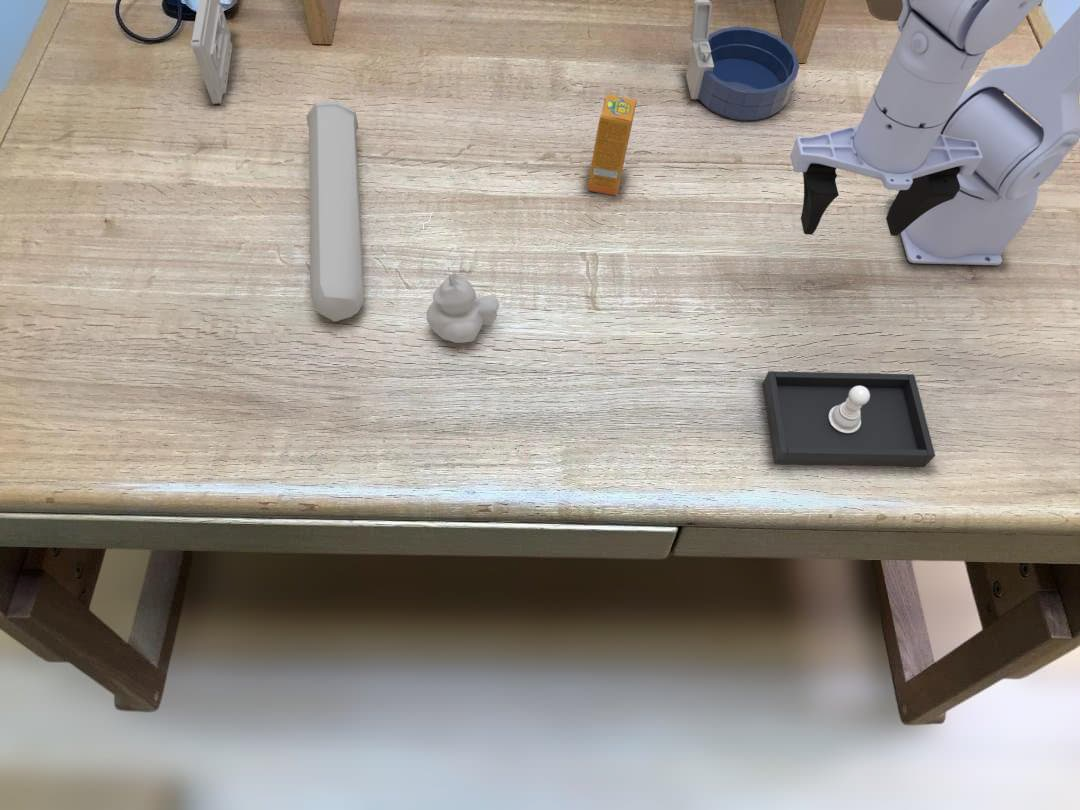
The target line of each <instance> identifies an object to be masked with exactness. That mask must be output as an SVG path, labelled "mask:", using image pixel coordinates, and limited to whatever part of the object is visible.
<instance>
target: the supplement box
mask: <svg viewBox="0 0 1080 810" xmlns="http://www.w3.org/2000/svg"><path fill="white" fill-rule="evenodd" d="M637 103H638V101H637V100H635V99H632V98H628V97H624V96H619V95H615V94H608V93H607V94H605V98H604V101H603V107H602V111H601V113H600V116H599V119H598V124H597V131H596V136H595V141H594V147H593V153H592V160H591V165H590V172H589V178H588V184H587V185H588V186H587V189H588V191H589V192H594V193H600V194H604V195H605V194H606V195H611V196H617V195H618V193H619V190H620V185H621V182H622V174H623V171H624V165H625V159H626V156H627V155H626V154H627V149H628V145H629V140H630V135H631V131H632V126H633V121H634V117H635V112H636V107H637Z"/></svg>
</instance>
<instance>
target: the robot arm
mask: <svg viewBox="0 0 1080 810" xmlns="http://www.w3.org/2000/svg"><path fill="white" fill-rule="evenodd" d="M1043 1H1044V0H901V2H902V9H901V12H900V15H899V17H898V19H897V22H896V25H897V29H898V32H899V33H900V34H899V37H898V38H897V41H896V43H895V46H894V47H893V50H892V52H891V54H890V57H889V58H888V61H887V63H886V65H885V66H884V70H883V71H882V74H881V76H880V78H879V80H878V82H877V85H876V87H875V90H874V91H873V94H872V96H871V98H870V100H869V102H868V105H867V107H866V109H865V111H864V114H863V116H862V118H861V120H860V122H859V124H856V125H851V126H848V127H844V128H840V129H836V130H833V131H829V132H826V133H821V134H817V135H816V134H815V135H811V136H797V137H796V139H795V141H794V143H793V146H792V150H791V152H790V159H791V161H790V162H791V165H792V169H793V172H794V173H802V178H803V202H802V210H801V215H800V221H801V225H802V230H803V234H804V235H811V236H812V235H813V234H814V233H815V232H816V230H817V229H818V227H819V224H820V223H821V219H822V217H823V215H824V214H825V212H826V210H827V209H828V207H829V206H830V205H831V204H832V202H833V201H834V200H835V199H837V198H838V197H839V196H840V194H839V191H838V187H837V183H836V179H837V177H838V174H837V171H836V170H837V169H838V170H841V171H846V172H849V173H853V174H857V175H860V176H864V177H868V178H872V179H876V180H880V181H881V182H882V186H883V187H884V188H885V189H887V190H890V191H898V192H897V194H896V196H895V197H894V199H893V201H892V203H891V205H890V207H889V208H888V212H887V215H886V217H885V219H886V224H887V226H888V230H889V235H890V236H891V237H897V236H899V235H900V236H901V240H902V244H903V248H904V251H905V255H906V259H907V261H908V262H909V263H911V264H927V265H928V264H932V265H933V264H934V265H937V264H938V265H939V264H940V265H968V266H969V265H972V266H1000V265H1001V264H1002V263H1003V258H1002V253H1003V252H1004V251H1005V250H1006V248H1008V246H1009V244H1010V243H1011V242H1012V240H1014V238H1015V237H1016V235H1017V234H1018V233H1019V232H1020V230H1021V229H1022V228H1023V226H1024V225H1025V224H1026V222H1027V221H1028V220H1029V219H1030V217H1031V215H1032V213H1033V211H1034V209H1035V206H1036V203H1037V200H1038V194H1039V187H1041V186H1042V185H1043V184H1044V183H1045V182H1046V181H1047V180H1048V179H1049V178H1051V176H1052V175H1054V173H1055V172H1056V171H1057V170H1058V169H1059V167H1060V166H1061V164H1062V163H1063V160H1064V159H1065V158H1066V156H1068V154H1069V153H1071V151H1072V149H1073V148H1075V146H1077V144H1079V141H1080V6H1079V7H1077V9H1076V10H1075V11H1074V12H1073V14H1071V15H1070V17H1068V19H1067V20H1066V21H1065V22H1063V24H1062V25H1061V27H1060V28H1059V29H1058V30H1057V31H1056V32H1055V33H1054V34H1053V35H1052V37H1051V38H1050V39H1048V41H1047V42H1046V43H1045V44H1044V45H1043V46H1042V48H1041V49H1040V50H1039V51H1038V52H1037V53H1036V54H1035V56H1034V57H1033V58H1032V59H1031V60H1030V61H1029V62H1028V63H1024V64H1023V63H1022V64H1005V65H998V66H994V67H991V68H988V69H987V71H985V72H984V73H983V74H982V75H981V76H980V77H979V78H978V79H977V80H976V81H975V82H974V83H973V84H972V85H971V86H970V87H969V88H967V86H968V85H969V83H970V81H971V80H972V77H974V74H975V73H976V71H977V69H978V67H979V65H980V64H981V62H982V60H983V59H984V56H985V55H986V54H987V51H989V50H991V49H993V48H994V47H995V46H997V45H999V44H1001V43H1002V42H1003V41H1005V40H1006V38H1007V37H1009V36H1010V35H1011V34H1012V33H1013V32H1014V31H1015V30H1016V29H1017V28H1018V27H1019V26H1020V25H1021V24H1022V22H1023V21H1025V19H1026V18H1027V16H1028V15H1029V14H1030V13H1031V12H1032V11H1033V10H1034V9H1036V8H1037V7H1038V6H1040V5H1041V3H1042V2H1043ZM1008 97H1009V98H1008ZM1017 104H1018V105H1017ZM1019 106H1020V107H1019ZM1025 111H1026V112H1027V113H1026V112H1025ZM1033 118H1034V119H1035V120H1034V119H1033Z"/></svg>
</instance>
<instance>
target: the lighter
mask: <svg viewBox="0 0 1080 810" xmlns="http://www.w3.org/2000/svg"><path fill="white" fill-rule="evenodd" d="M712 7H713V3H712V1H710V0H694V1H693V3H692V15H691V16H692V17H691V25H690V37H689V39H690V40H691V42H692V46H691V51H690V54H689V55H690V56H689V60H688V64H687V68H686V74H685V78H686V83H687V88H688V92H689V95H690V99H691V100H699V98H698V95H699V91H700V87H701V83H702V79H703V74H704V71H710V72H711V73H713V69H714V64H713V60H712V56H711V49H710V45H709V42H708V38H709V34H710V28H711V18H712V9H713V8H712Z"/></svg>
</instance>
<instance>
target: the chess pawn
mask: <svg viewBox="0 0 1080 810" xmlns="http://www.w3.org/2000/svg"><path fill="white" fill-rule="evenodd" d="M869 399H870V392H869V390H868V389H867V388H866V387H864V386H855V387H853V388H852V389H851V390H850V391H849V394H848V398H847V399H846V402H844V403H842V404H840V405H837V406H835V407H833V408H832V409H831V410H830V412H829V421H830V423H831V425H832V426H833V427H834V428H835V429H836V430H838V431H840V432H843V433H853V432H855V431H857V430H858V429H859V427H860V425H861V414H860V413H861V412H860V409H861V407H862V405H864V404H866V403H867V402H868V401H869Z"/></svg>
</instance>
